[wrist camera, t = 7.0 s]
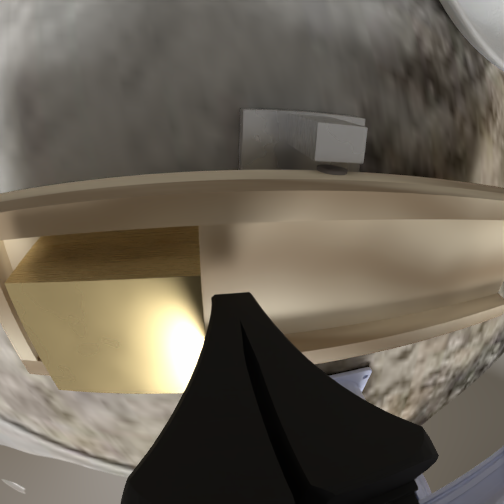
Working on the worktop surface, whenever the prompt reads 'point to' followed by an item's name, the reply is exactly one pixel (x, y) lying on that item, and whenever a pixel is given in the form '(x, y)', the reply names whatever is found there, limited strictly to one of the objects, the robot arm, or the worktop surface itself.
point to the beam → (296, 248)
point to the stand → (300, 140)
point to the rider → (114, 308)
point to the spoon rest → (480, 25)
